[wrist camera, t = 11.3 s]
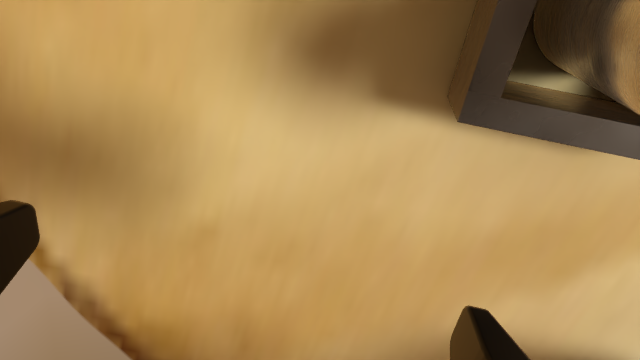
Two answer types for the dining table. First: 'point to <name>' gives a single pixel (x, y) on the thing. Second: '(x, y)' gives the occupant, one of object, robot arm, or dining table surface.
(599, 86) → the tube
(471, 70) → the collar
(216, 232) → the dining table surface
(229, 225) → the dining table surface
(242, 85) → the dining table surface
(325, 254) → the dining table surface
